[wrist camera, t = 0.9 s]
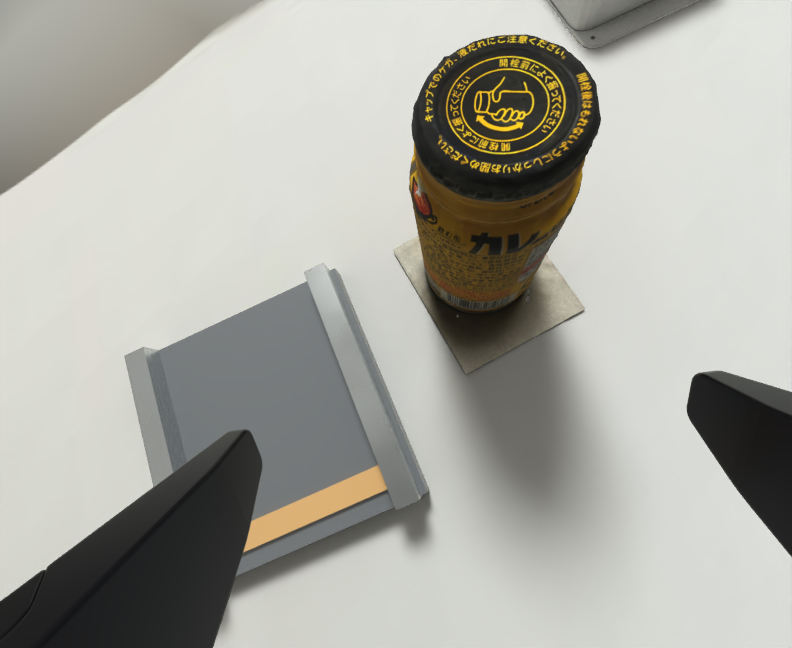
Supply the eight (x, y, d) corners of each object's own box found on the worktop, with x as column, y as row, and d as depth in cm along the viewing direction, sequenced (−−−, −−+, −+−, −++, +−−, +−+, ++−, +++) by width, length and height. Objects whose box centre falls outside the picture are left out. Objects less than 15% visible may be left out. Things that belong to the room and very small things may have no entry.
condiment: (499, 192, 23) (544, -33, 11) (584, 309, 21) (747, 176, 9) (393, 251, 23) (332, 88, 12) (465, 375, 21) (479, 326, 9)
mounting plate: (428, 488, 20) (427, 493, 19) (203, 587, 20) (188, 597, 19) (339, 274, 23) (333, 267, 22) (149, 363, 24) (133, 360, 23)
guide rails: (421, 495, 19) (419, 500, 18) (196, 593, 19) (179, 604, 18) (330, 270, 22) (323, 262, 21) (141, 358, 23) (124, 355, 22)
